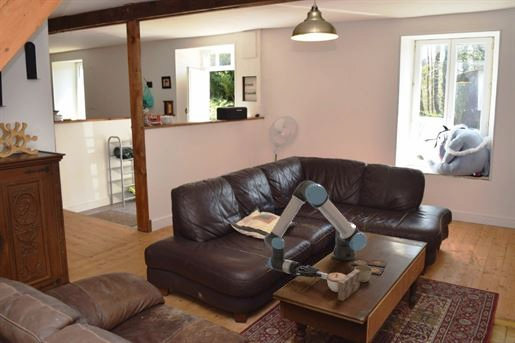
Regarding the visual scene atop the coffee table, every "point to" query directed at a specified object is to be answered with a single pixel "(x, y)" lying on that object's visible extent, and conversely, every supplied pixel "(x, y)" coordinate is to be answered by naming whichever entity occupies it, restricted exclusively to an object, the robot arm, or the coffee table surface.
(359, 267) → the flower pot
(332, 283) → the lidded jar
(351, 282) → the grey brown rectangular panel
